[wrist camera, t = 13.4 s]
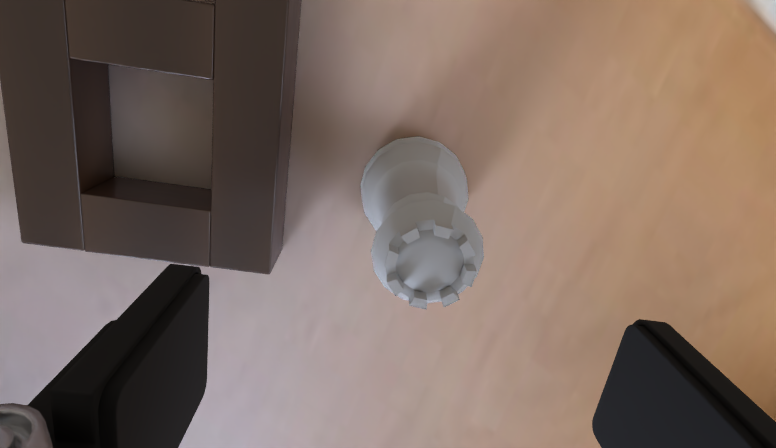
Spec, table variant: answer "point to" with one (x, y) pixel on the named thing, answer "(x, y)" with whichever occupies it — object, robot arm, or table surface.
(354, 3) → the table surface
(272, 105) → the stand
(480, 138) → the table surface
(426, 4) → the table surface
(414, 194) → the rook chess piece
